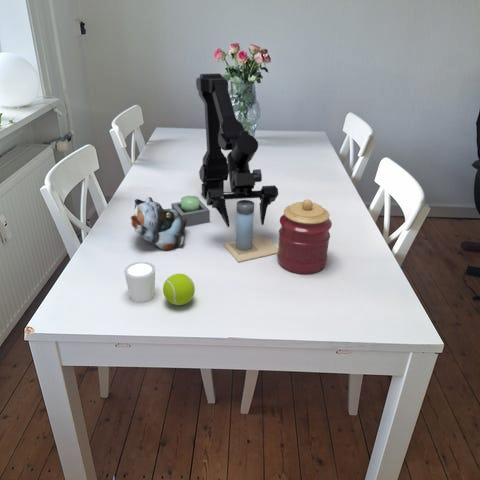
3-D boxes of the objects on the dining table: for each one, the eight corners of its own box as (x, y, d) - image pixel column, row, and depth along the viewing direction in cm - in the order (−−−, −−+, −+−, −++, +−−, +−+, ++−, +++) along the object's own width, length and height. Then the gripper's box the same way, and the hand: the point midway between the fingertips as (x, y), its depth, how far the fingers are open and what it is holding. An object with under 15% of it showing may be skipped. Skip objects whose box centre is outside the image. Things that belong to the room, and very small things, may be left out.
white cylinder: (128, 286, 110) (126, 261, 106) (158, 286, 110) (156, 261, 107) (125, 304, 104) (122, 278, 100) (156, 303, 104) (154, 277, 101)
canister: (314, 280, 114) (321, 216, 105) (267, 265, 120) (271, 202, 111) (334, 258, 124) (342, 197, 115) (290, 244, 130) (295, 185, 121)
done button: (195, 206, 144) (195, 194, 142) (202, 213, 140) (201, 201, 138) (179, 209, 142) (178, 197, 140) (185, 216, 138) (184, 204, 136)
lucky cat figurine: (181, 254, 123) (153, 217, 115) (144, 262, 128) (115, 228, 120) (192, 216, 134) (168, 179, 125) (158, 225, 139) (132, 191, 130)
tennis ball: (173, 315, 101) (172, 288, 97) (158, 299, 106) (156, 273, 102) (200, 304, 104) (200, 278, 101) (185, 289, 109) (184, 264, 106)
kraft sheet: (264, 236, 133) (264, 234, 133) (281, 252, 125) (281, 251, 125) (222, 245, 128) (222, 243, 128) (238, 262, 120) (238, 261, 120)
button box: (199, 210, 148) (198, 199, 146) (209, 222, 140) (209, 210, 138) (172, 215, 144) (171, 203, 142) (181, 227, 137) (181, 215, 135)
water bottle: (246, 241, 129) (247, 198, 123) (255, 248, 126) (257, 204, 120) (232, 245, 127) (233, 202, 121) (241, 252, 124) (242, 208, 118)
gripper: (207, 159, 117) (213, 217, 113) (279, 156, 120) (287, 213, 116) (204, 177, 127) (209, 231, 123) (270, 174, 131) (277, 227, 126)
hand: (245, 225), depth 122 cm, fingers open, 9 cm apart
